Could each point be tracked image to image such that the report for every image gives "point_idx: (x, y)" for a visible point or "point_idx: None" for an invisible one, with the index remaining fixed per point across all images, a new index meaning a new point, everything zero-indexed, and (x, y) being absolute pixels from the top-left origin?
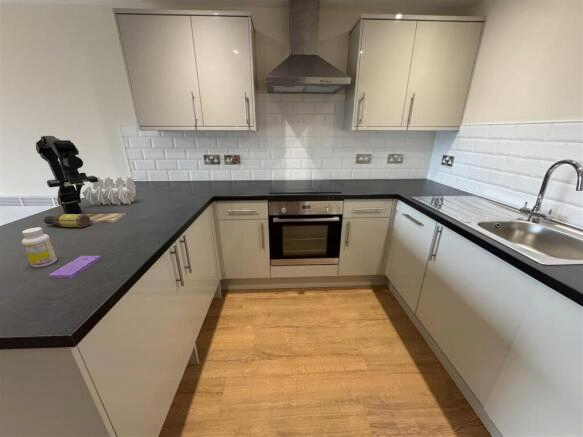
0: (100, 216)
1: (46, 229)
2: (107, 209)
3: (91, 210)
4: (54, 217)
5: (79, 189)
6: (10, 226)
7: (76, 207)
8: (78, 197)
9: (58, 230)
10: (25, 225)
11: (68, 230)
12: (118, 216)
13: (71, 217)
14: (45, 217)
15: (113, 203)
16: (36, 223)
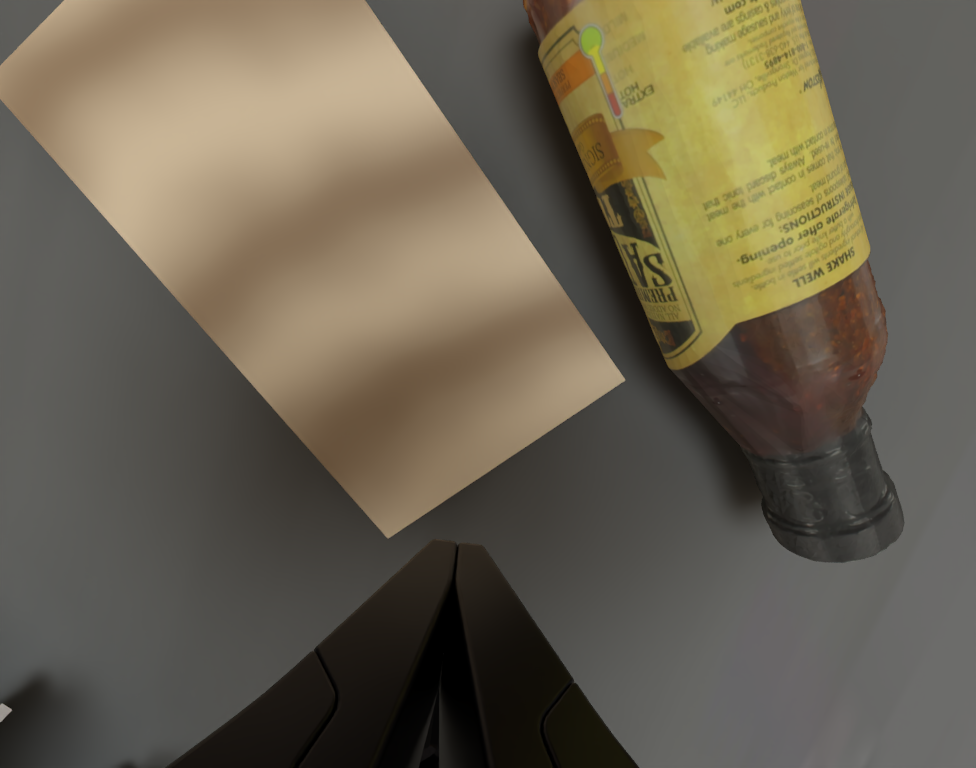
0: (313, 255)
1: (882, 363)
2: (139, 615)
3: None
4: (866, 390)
5: (293, 736)
6: (968, 762)
7: (432, 740)
8: (461, 546)
9: None
10: (896, 691)
11: None
12: None
13: (796, 21)
14: (895, 533)
15: (2, 706)
16: (815, 678)
